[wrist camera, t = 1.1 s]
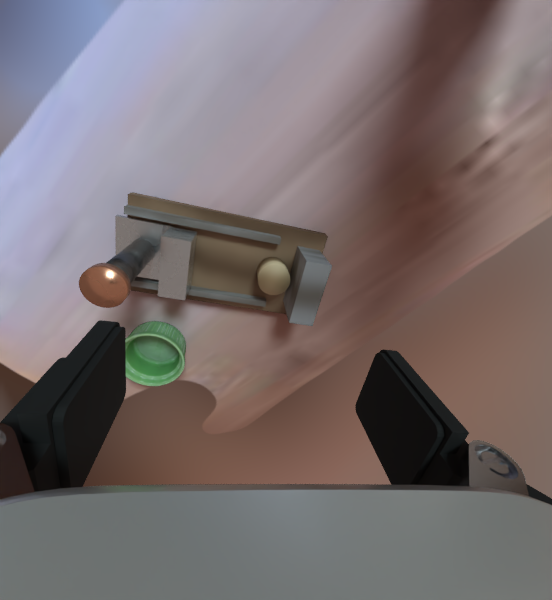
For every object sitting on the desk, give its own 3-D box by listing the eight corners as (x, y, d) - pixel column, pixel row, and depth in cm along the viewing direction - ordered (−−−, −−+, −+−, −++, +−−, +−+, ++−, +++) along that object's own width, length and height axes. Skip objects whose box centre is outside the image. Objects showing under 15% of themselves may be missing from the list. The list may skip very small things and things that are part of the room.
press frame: (132, 192, 34) (105, 201, 27) (324, 233, 38) (341, 249, 32) (131, 284, 39) (107, 311, 32) (301, 311, 43) (311, 339, 37)
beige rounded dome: (260, 254, 37) (261, 262, 34) (289, 259, 38) (293, 268, 35) (254, 282, 39) (255, 292, 36) (282, 287, 40) (286, 297, 37)
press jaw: (117, 214, 33) (61, 241, 23) (197, 230, 35) (178, 262, 25) (117, 271, 36) (67, 317, 26) (191, 283, 38) (172, 331, 27)
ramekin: (134, 308, 41) (123, 325, 37) (197, 328, 43) (192, 345, 39) (120, 357, 44) (109, 377, 40) (179, 372, 46) (174, 393, 43)
